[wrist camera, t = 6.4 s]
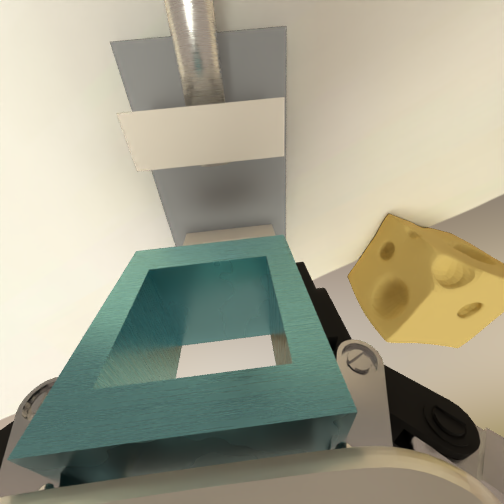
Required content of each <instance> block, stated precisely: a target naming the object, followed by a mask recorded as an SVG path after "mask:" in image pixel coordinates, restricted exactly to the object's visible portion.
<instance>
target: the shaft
mask: <svg viewBox="0 0 504 504" xmlns="http://www.w3.org/2000/svg"><path fill="white" fill-rule="evenodd" d="M164 3H165V8H166V13H167V17H168V22H169V27H170V32H171V37H172V42H173V46H174V51H175V56H176V61H177V66H178V71H179V75H180V80H181V85H182V90H183V95H184V100H185V105H186V107H188V106H198V105H208V104H219V103H225V96H224V88H223V80H222V72H221V64H220V56H219V48H218V39H217V31H216V23H215V15H214V7H213V0H164ZM228 163H230V162H224V163H215V164H205V165H199V166H203V167H212V166H220V165H225V164H228Z"/></svg>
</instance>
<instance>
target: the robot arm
mask: <svg viewBox="0 0 504 504" xmlns="http://www.w3.org/2000/svg"><path fill="white" fill-rule="evenodd" d="M296 265H297V268H298V270H299V272H300V275H301V277H302V280H303V282H304V284H305V287H306V289H307V292H308V294H309V296H310V299H311V301H312V304H313V306H314V308H315V311H316V313H317V316H318V318H319V320H320V323H321V325H322V328H323V330H324V332H325V335H326V337H327V340H328V342H329V344H330V347H331V349H332V352H333V354H334V356H335V359H336V361H337V363H338V366H339V368H340V371H341V373H342V375H343V378H344V380H345V383H346V385H347V387H348V390H349V392H350V395H351V397H352V399H353V402H354V404H355V407H356V409H357V411H358V413H357V415H356V417H355V419H354V422H353V424H352V426H351V429H350V431H349V433H347V434H340V435H333V436H331V439H330V444H329V447H328V450H323V451H315V452H306V453H298V454H291V455H284V456H276V457H269V458H262V459H254V460H247V461H240V462H232V463H225V464H218V465H211V466H204V467H197V468H190V469H183V470H176V471H169V472H162V473H155V474H148V475H141V476H134V477H127V478H120V479H113V480H106V481H99V482H93V483H86V484H80V483H78V482H76V481H74V480H72V479H70V478H69V477H67V476H65V475H63V474H61V473H60V474H53V475H46V476H42V475H40V474H38V473H35V472H33V471H31V470H29V469H26V468H24V467H22V466H20V465H17V464H15V463H13V462H11V461H8V460H7V459H8V457H9V456H10V454H11V452H12V451H13V449H14V448H15V446H16V444H17V443H18V441H19V440H20V438H21V436H22V435H23V433H24V432H25V430H26V428H27V427H28V425H29V423H30V422H31V420H32V419H33V417H34V415H35V414H36V412H37V411H38V409H39V407H40V406H41V404H42V403H43V401H44V399H45V398H46V396H47V394H48V393H49V391H50V390H51V388H52V386H53V385H54V383H55V382H56V380H57V378H58V377H55V378H53V379H50V380H47V381H45V382H44V383H42V384H40V385H39V386H37V387H36V388H35V389H34V390H32V391H31V392H30V393H29V394H28V395H27V396H26V397H25V399H24V400H23V401H22V403H21V404H20V405H19V408H18V410H17V412H16V415H15V419H14V421H13V422H11V423H10V424H8V425H7V426H6V427H4V428H3V429H2V430H0V504H504V438H503V437H501V436H500V435H498V434H496V433H494V432H493V431H491V430H490V429H488V428H486V429H484V430H483V429H481V428H479V427H478V426H476V425H475V424H474V422H473V421H472V420H471V418H470V417H469V416H468V414H466V413H465V412H464V411H463V410H462V409H461V408H460V407H459V406H457V405H456V404H454V403H453V402H451V401H450V400H448V399H446V398H444V397H443V396H441V395H439V394H437V393H435V392H433V391H431V390H430V389H428V388H426V387H424V386H422V385H420V384H418V383H417V382H415V381H413V380H411V379H409V378H408V377H406V376H404V375H402V374H400V373H398V372H396V371H395V370H393V369H391V368H389V367H387V366H385V365H384V364H383V360H382V357H381V356H380V355H379V353H378V351H377V350H375V349H374V348H373V347H372V346H371V345H369V344H367V343H366V342H363V341H360V340H353V339H351V337H350V335H349V333H348V331H347V329H346V327H345V326H344V324H343V322H342V320H341V318H340V316H339V314H338V312H337V310H336V308H335V306H334V304H333V302H332V300H331V299H330V297H329V295H328V293H327V291H326V289H325V288H317V289H316V288H315V285H314V283H313V281H312V279H311V277H310V275H309V273H308V270H307V268H306V266H305V264H304V262H297V263H296Z"/></svg>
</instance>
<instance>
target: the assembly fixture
mask: <svg viewBox="0 0 504 504" xmlns="http://www.w3.org/2000/svg"><path fill="white" fill-rule="evenodd" d="M217 39H218V48H219V56H220V64H221V72H222V80H223V88H224V96H225V103H219V104H208V105H198V106H188V107H186V105H185V100H184V95H183V90H182V85H181V80H180V75H179V71H178V66H177V61H176V56H175V51H174V46H173V42H172V37H171V36H169V37H158V38H147V39H136V40H125V41H113V42H110V44H111V47H112V50H113V53H114V56H115V59H116V63H117V66H118V69H119V72H120V75H121V78H122V81H123V84H124V87H125V90H126V93H127V97H128V100H129V103H130V106H131V109H132V112H126V113H116V114H117V117H118V119H119V122H120V125H121V128H122V130H123V133H124V136H125V139H126V142H127V144H128V147H129V150H130V153H131V156H132V158H133V161H134V164H135V167H136V170H137V172H138V171H148V170H151V171H152V174H153V177H154V180H155V183H156V186H157V189H158V193H159V196H160V199H161V202H162V205H163V208H164V211H165V214H166V217H167V220H168V224H169V227H170V230H171V233H172V236H173V239H174V242H175V245H176V247H178V246H187V245H196V244H205V243H213V242H222V241H231V240H240V239H249V238H258V237H266V236H275V235H284V237H285V239H286V26H281V27H270V28H259V29H248V30H237V31H225V32H217ZM224 162H230V163H228V164H225V165H220V166H212V167H203V166H199V165H205V164H215V163H224Z"/></svg>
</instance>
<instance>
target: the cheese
mask: <svg viewBox="0 0 504 504" xmlns="http://www.w3.org/2000/svg"><path fill="white" fill-rule="evenodd" d="M348 279H349V281H350V284H351V286H352V289H353V291H354V294H355V296H356V298H357V300H358V302H359V304H360V306H361V308H362V310H363V311H364V313H365V315H366V316H367V318H368V319H369V321H370V322H371V324H372V325H373V326H374V327H375V329H376V330H377V331H378V333H379V334H380V335H381V336H382V337H383V338H384V340H386V341H387V342H391V343H423V344H434V345H441V346H449V347H454V348H459V347H460V346H462V345H463V344H465V343H466V342H468V341H469V340H470V339H472V338H473V337H474V336H475V335H476V334H478V333H479V332H480V331H481V330H482V329H484V328H485V327H486V326H487V325H488V324H490V323H491V322H492V321H493V320H494V319H496V318H497V317H498V316H499V315H500V314H501V313H503V312H504V263H502V262H500V261H498V260H496V259H495V258H493V257H491V256H490V255H488V254H486V253H485V252H483V251H482V250H480V249H478V248H476V247H475V246H473V245H471V244H470V243H468V242H466V241H464V240H462V239H460V238H459V237H457V236H455V235H453V234H451V233H448V232H444V231H440V230H436V229H432V228H428V227H427V228H422V227H419V226H417V225H415V224H414V223H412V222H410V221H407V220H404V219H401V218H399V217H396V216H394V215H391V214H388V215H387V217H386V218H385V219H384V221H383V223H382V224H381V226H380V228H379V230H378V232H377V234H376V235H375V237H374V238H373V240H372V241H371V243H370V244H369V246H368V247H367V249H366V250H365V252H364V253H363V255H362V256H361V258H360V259H359V260H358V262H357V263H356V265H355V266H354V268H353V269H352V270H351V271H350V273H349V274H348Z"/></svg>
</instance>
